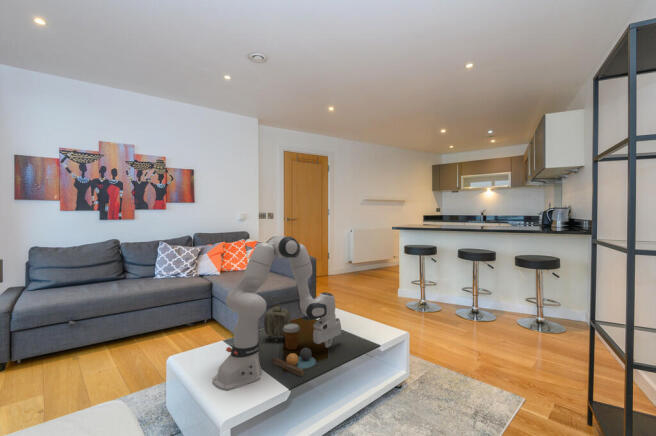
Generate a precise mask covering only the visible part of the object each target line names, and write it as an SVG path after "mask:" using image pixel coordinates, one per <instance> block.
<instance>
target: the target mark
mask: <svg viewBox="0 0 656 436" xmlns="http://www.w3.org/2000/svg"><path fill="white" fill-rule="evenodd" d="M297 356H298V355H297ZM316 363H317V360H316V359H315V358H314V357H312V356H311V357H310V359H308V360H303V359H302V358H301V357H300V355H299V356H298V363H297V364H296V365H295V366H296V367H298V368H301V369H303V370H304V369H309V368H313V366H314V365H316Z"/></svg>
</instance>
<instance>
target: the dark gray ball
mask: <svg viewBox="0 0 656 436" xmlns="http://www.w3.org/2000/svg"><path fill="white" fill-rule="evenodd" d="M312 354H313V353H312V350H311V349H310V348H309V347H303V348H302V349H301V350H300V352H299V356H300V357H301V358H302V359H303V360H308V359H310V357H312Z"/></svg>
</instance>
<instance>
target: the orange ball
mask: <svg viewBox="0 0 656 436" xmlns="http://www.w3.org/2000/svg"><path fill="white" fill-rule="evenodd" d="M285 362H287V363H290V364H292V365H294V366H295V365H296V364H297V363H298V355H297V353H295V352H293V353H292V352H291V353H289V354H288V355H287V356H286V360H285Z"/></svg>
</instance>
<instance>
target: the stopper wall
mask: <svg viewBox="0 0 656 436" xmlns="http://www.w3.org/2000/svg"><path fill="white" fill-rule="evenodd" d="M272 361H273V362H272V363H273V365H275V366H276V367H279V368H281V369H283V370H286V371H287V372H290V373H292V374H294V375H296V376H298V377H303V376H304V375H305V374H304V373H305V372H304V369H301V368H298V367H296V366H294V365H292V364H290V363H287V361H286V360H283V359H282V358H279V357H274V358H273V360H272Z"/></svg>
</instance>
